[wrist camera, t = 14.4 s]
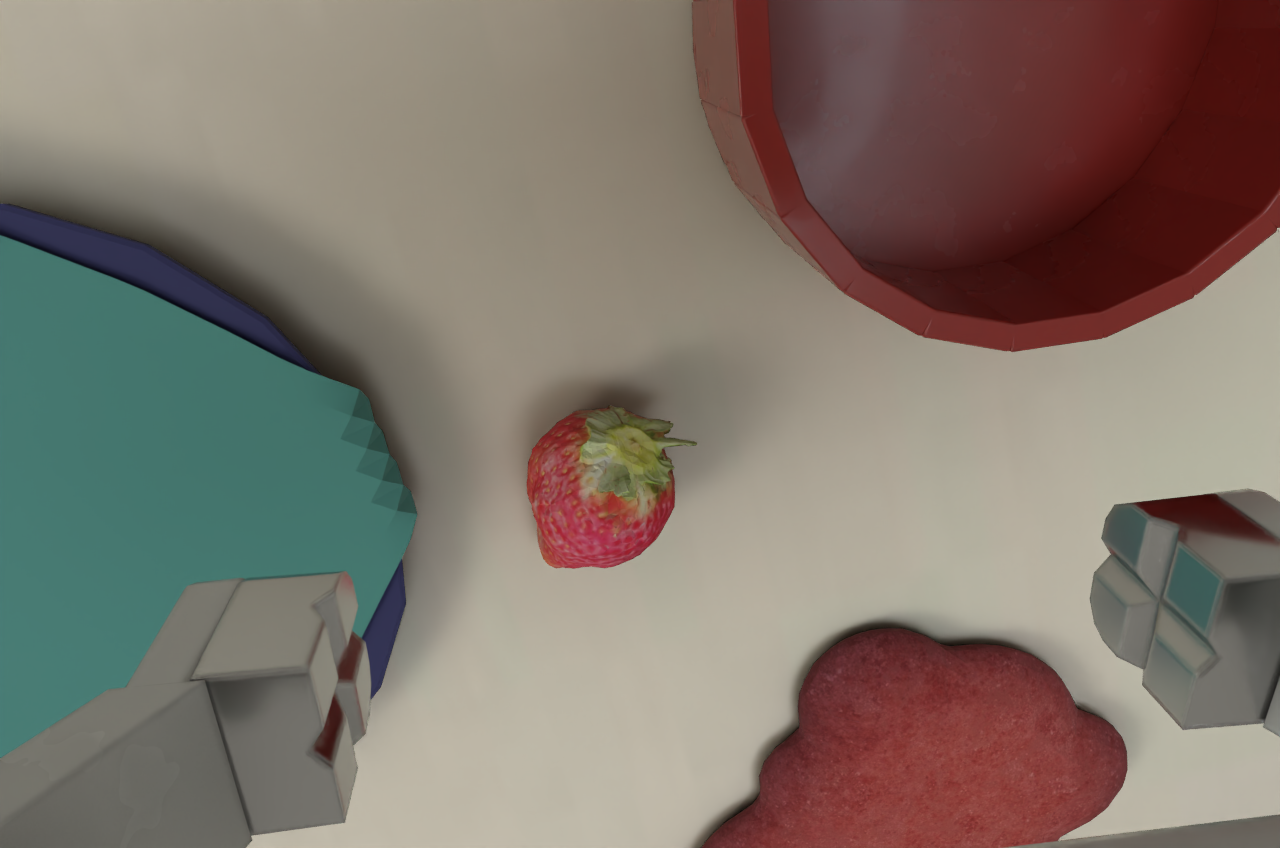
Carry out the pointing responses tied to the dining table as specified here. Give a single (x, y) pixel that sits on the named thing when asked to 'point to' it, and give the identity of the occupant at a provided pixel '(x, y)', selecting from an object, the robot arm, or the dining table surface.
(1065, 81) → the pan
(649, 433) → the fruit
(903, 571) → the dining table surface
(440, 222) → the dining table surface
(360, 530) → the cutlery set
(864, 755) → the patty
